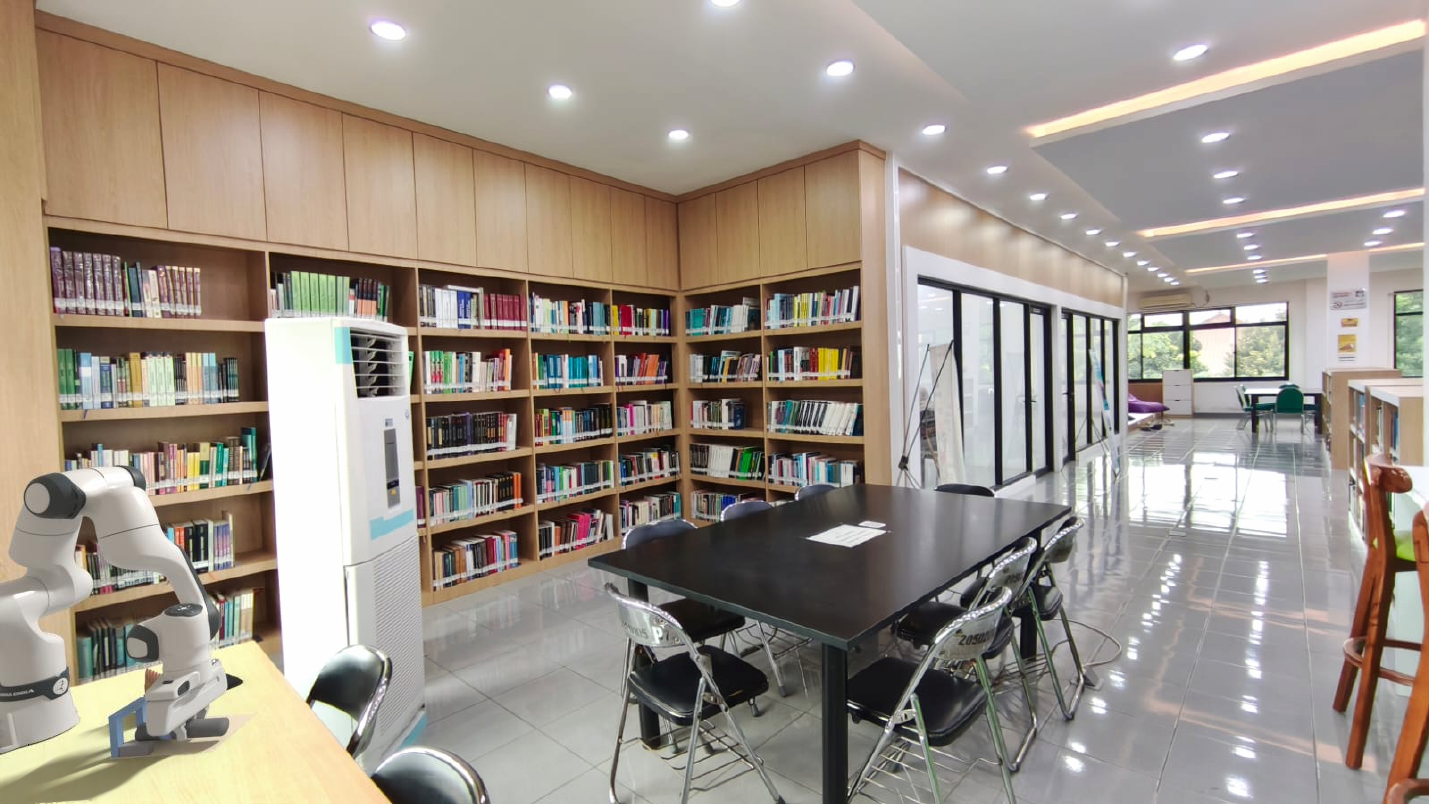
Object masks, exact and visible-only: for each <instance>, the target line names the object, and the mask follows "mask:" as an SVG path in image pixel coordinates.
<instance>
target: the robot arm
mask: <svg viewBox="0 0 1429 804" xmlns="http://www.w3.org/2000/svg"><path fill="white" fill-rule="evenodd" d="M146 489H147V480H146V477H145V475H144V474H143V472H142V471H141V470H140V469H139V468H137V467H135V466H131V465H122V464H121V465H119V464H117V465H111V466H108V465H107V466H91V467H89V466H88V467H84V468H79V469H72V470H67V471H62V472H52V473H47V474H42V475H39V476H37V477H35V478H33V479H32V480H30V481H29V482H28V484H27V485H26V487H25V490H24V491H23V504H22V507H21V508H20V510H19V512H18V513H19V514H18V516H17V519H16V523H15V526H14V529H13V533H12V537H11V539H10V540H11V541H10V543H9V548H8V552H7V553H8V556H9V558H10V560H11V561H13V563H14V564H17V565H18V566H21V567H24V568H27V569H26V571H25V574H24V575H23V576H21V577H19V578H18V577H17V578H16V579H12V580H8V581H4V582H1V583H0V753H1V754H5V753H7V752H11V751H12V750H13V751H14V750H15V749H18V748H21V747H25V746H28V744H29V745H32V744H35V743H39V742H42V741H45V740H47V739H50V738H52V737H55V736H58V735H59V734H63V733H64V732H66V731H68V730H69V729H71V728H73V727H75V726H76V725H77V724H78V722H80V720H81V717H80V715H79V714H78V709H77V707H75V703H74V699H73V695H72V691H71V688H70V681H71V675H70V674H71V671H70V667H69V666H68V665H67V657H66V656H67V655H66V644H65V640H64V638H63V637H62V636H61V635H59V634H56V633H53V632H48V631H42V629H41V628H40V626H39V619H43V618H44V617H48V616H51V615H54V614H57V613H59V612H62V611H66V610H68V609H70V608H71V607H73V606H74V607H75V605H77V604H79V603H81V602H82V601H85V600H86V599H87V598H89V597H90V596H91V594H92V591H93V589H94V580H93V577H92V576H91V574H90V573H89V572H88V571H87V570H86V569H85V568H83V567H81V566H79V565H78V564H77V562H76V559H75V551H76V546H77V540H78V537H79V533H80V529H81V526H82V522H83V518H84V517H87V518H89V519H90V520H91V521H92V522H93V526H94V531H95V535H96V538H97V542H98V547H99V551H100V552H101V556H102V557H103V559H104V560H105V561H106V563H108V564H110V565H112V566H114V567H116V568H118V569H122V570H128V571H143V572H144V571H145V572H153V573H157V574H161V575H162V576H164V577H165V578H167V580H168V581H169V583H170V585H171V587H172V589H173V591H174V593H175V595H176V598H177V599H178V601H179V604H175V605H171V606H169V607H168V608H166V609H164V610H163V611H162V612H161V614H159V615H157V616H155V617H152V618H149V619H146V620H143V621H141V622H139V623H137V624H135V625H133V626H132V627H131V628H130V630H128V633H127V635H126V637H125V642H124V646H125V647H124V648H125V652H126V654H127V656H128V658H129V659H131V660H133V661H136V662H139V663H143V664H145V663H147V664H149V663H153V662H157V661H160V662H162V668H161V669H162V670H161V671H162V673H160V674H161V675H160V676H159V677H158V679H157V680H156V681H155V682H154V684H153V685H152V686H151V687H150V688H149V689H148V690H147V691H146V692H145V691H144V694H145V695H144V694H143V697H145V700H146V701H150V702H149V703H148V705H147V707H146V727H147V733H148V734H149V735H151V736H164V735H167V734H169V733H170V732H171V731H174V732H175V733H176V735H177V740H178V741H184V740H185V739H186V738H188V737H189V736H190V735H189V730H186V729H185V728H184V726H185V725H186V721H187V720H188V719H189V718H191V717H192V716H194V715H195V714H196V713H197V717H196V719H206V717H208V714H209V710H210V708H211V707H210V705H211V703H212V702H214V701H216V700H217V699H219V698H220V697H221V696H224V694H226V690H227V679H226V674H225V673H226V671H225V668H224V667H223V666H222V661H221V660H220V659H219V658H213V657H212V653H211V652H210V648H209V647H210V642H211V641H212V640H214V638H215V637H216V636H217V634H218V633H219V631H220V629H221V626H222V622H223V620H222V619H223V618H222V614H221V612H220V610H219V609H218V608H217V606H216V605H215V603H214V602H213V601H212V600H211V599H210V597H209V595H208V592H207V591H206V588H205V586H204V585H203V583H202V580H201V579H200V577H199V574H198V573H197V571H196V568H195V566H194V565H193V563H192V560H191V559H190V557H189V555H188V553H186V551H185V549H184V548H183V547H182V546H181V545H179V544H176V543H173V542H172V541H171V540H170V539H169V538H168V537H167V536H166V535H165V533H164V532H163V530H162V528H161V524H160V522H159V517H158V515H157V512H156V510H155V507H154V505H153V502H152V501H151V500H150V497H149V496H148V494H147V493H146ZM227 691H228V690H227Z"/></svg>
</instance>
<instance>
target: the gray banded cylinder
mask: <svg viewBox="0 0 1429 804" xmlns="http://www.w3.org/2000/svg"><path fill="white" fill-rule="evenodd" d="M184 728H185V729H186V730H189V735H190V736H189V737H188V738H204V737H220V736H223V735H225V733H226V732H227V730H228V728H229V719H228V718H227V717H223V718H207V719H190V720H187V721H186V725H185V726H184ZM188 738H186V739H188ZM134 739H135V741H138V742H141V741H157V740H175V739H177V735H176V733H175V732H174V731H171V732H170V733H169V734H167V735H164V736H151V735H149V734H148V733H147V727H146V722H144V723H141V724H140V725H139V726H138V728H136V729H135V732H134Z"/></svg>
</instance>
